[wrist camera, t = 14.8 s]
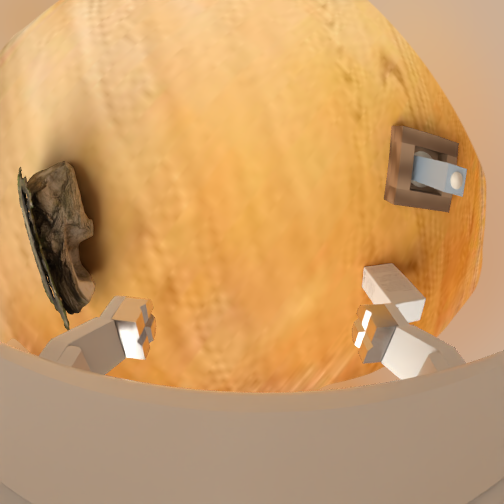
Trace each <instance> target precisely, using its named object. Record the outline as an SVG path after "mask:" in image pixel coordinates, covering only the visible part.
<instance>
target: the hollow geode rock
mask: <svg viewBox="0 0 504 504" xmlns="http://www.w3.org/2000/svg"><path fill="white" fill-rule="evenodd" d="M21 171H22V170H21V167H20V168H19V174H18V193H19V201H20V206H21V208H22V212H23V217H24V221H25V226H26V229H27V233H28V237H29V240H30V244H31V247H32V251H33V254H34V256H35V260H36V264H37V267H38V269H39V272H40V275H41V279H42V283H43V286H44V289H45V292H46V294H47V296H48V297H49V299H50V302H51V303H53V304H54V305H55V309H56V310H57V311H59V313H60V314H61V317H62V319H63V321H64V326H65V328H66V329H67V330H70V329H69V321H68V319H67V316H66V311H67V312H68V313H69V314H74V313H79V312H80V311H81V309H82V307H84V306H85V305H87V304H88V303H89V301H90V300H91V298H92V295H93V293H94V290H95V282H94V281H93V279H92V277H91V275H90V274H89V272H88V271H87V270H86V269H85V268H84V267H83V266H82V264H81V262H80V257H79V248H78V247H79V243H80V242H82V241H84V240H86V239H88V238H90V237H92V236H93V228H94V227H93V222H92V219H89V218H87V216H86V214H85V212H84V207H83V205H82V201H81V195H80V191H79V188H78V184H77V180H76V175H75V171H74V168H73V167H72V166H71V165H70V164H69V163H68V162H65V161H63V162H61V163H58V164H56V165H54V166H52V167H50V168H48V169H46V170H42V171H40V172H38V173H36V174H34V175H33V176H32V177H31V178H30V179H29V181H28V182H27V179H26V176H25V177H24V178H22V174H21ZM26 194H27V197H28V198H26ZM26 204H27V205H26ZM28 209H29V210H28ZM28 211H30V213H29V212H28ZM29 218H30V219H29ZM47 277H48V280H47ZM49 285H50V286H51V288H52V290H53V292H54V296H53V294H52V290H51V288H50V286H49ZM54 297H55V298H54Z"/></svg>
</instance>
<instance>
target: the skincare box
mask: <svg viewBox="0 0 504 504" xmlns="http://www.w3.org/2000/svg"><path fill="white" fill-rule="evenodd" d="M362 288H363V289H364V290H365V292H366V293H367V295H368V296H369V298H370V299H371V301H372V302H373V304H386V303H393V304H395V305H396V307H397V308H398V309H399V311H400V312H401V313H402V315H403V316H404V318H405V319H406V320H407V322H408V323H410V322H414V321H417V320H420V318H421V314H422V311H423V307H424V304H425V300H426V298H425V297H424V296H423V295H422V294H421V293H420V292H419V291H418V290H417V288H416V287H415V286H414V285H413V284H412V283H411V282H410V281H409V280H408V279H407V278H406V277H405V276H404V275H403V274H402V272H401V271H400V270H399V269H398V268H397V267H396V266H395V265H394V264H393V263H389V264H382V265H374V266H367V267H364V272H363V282H362Z"/></svg>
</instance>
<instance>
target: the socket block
mask: <svg viewBox="0 0 504 504" xmlns="http://www.w3.org/2000/svg"><path fill="white" fill-rule="evenodd" d="M458 144H459V143H456V142H453V141H450V140H448V139H445V138H442V137H439V136H436V135H433V134H429V133H426V132H423V131H419V130H416V129H412V128H409V127H405V126H392V130H391V143H390V154H389V164H388V173H387V181H386V188H385V195H384V199H385V200H387V201H388V202H390V203H392V204H394V205H401V206H409V207H416V208H423V209H430V210H437V211H443V212H449V210H450V204H451V199H452V194H450V193H446V192H443V191H440V190H438V189H435V188H433V187H430V186H427V185H425V184H422V183H419V182H417V181H414V180H411V177H412V169H413V161H414V155H415V156H420V157H424V158H429V159H433V160H438V161H442V162H446V163H450V164H453V165H457V156H458Z"/></svg>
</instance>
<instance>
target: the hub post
mask: <svg viewBox="0 0 504 504" xmlns="http://www.w3.org/2000/svg"><path fill="white" fill-rule="evenodd" d="M466 172H467V169H465V168H462V167H459V166H456V165H453V164H450V163H446V162H442V161H438V160H433V159H429V158H424V157H420V156H415V155H414V161H413V169H412V177H411V180H414V181H417V182H419V183H422V184H425V185H427V186H430V187H433V188H435V189H438V190H440V191H443V192H446V193H450V194H454V195H458V196H462V197H463V191H464V185H465V179H466Z"/></svg>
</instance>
